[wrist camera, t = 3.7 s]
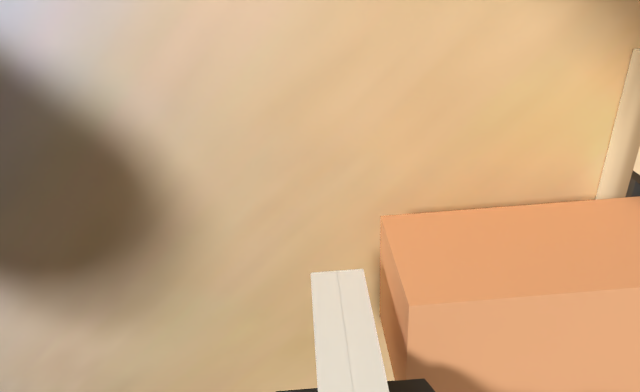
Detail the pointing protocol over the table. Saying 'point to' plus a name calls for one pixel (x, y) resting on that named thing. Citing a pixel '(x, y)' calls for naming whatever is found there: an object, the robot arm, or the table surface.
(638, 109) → the sleeve
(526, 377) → the peg
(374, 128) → the table surface
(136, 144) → the table surface
